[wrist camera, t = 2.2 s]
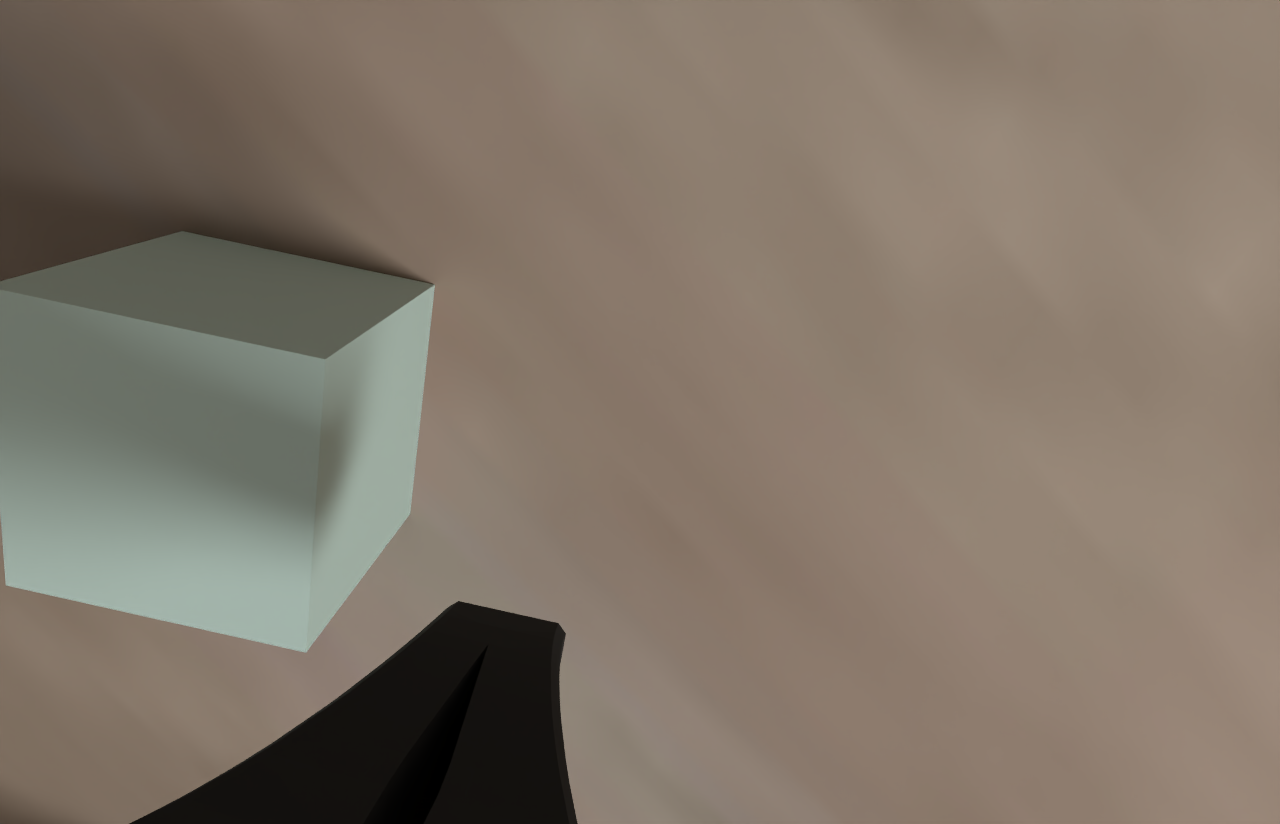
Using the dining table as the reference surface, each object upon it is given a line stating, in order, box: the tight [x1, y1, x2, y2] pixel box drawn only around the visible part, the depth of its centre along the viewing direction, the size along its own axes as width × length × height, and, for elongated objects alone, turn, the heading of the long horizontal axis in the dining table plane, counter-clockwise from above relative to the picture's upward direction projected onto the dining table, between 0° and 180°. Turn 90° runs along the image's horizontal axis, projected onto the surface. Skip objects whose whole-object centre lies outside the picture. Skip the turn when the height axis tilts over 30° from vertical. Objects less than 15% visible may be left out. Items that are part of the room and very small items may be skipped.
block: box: [0, 231, 435, 652], centre depth 16 cm, size 5×5×5 cm
